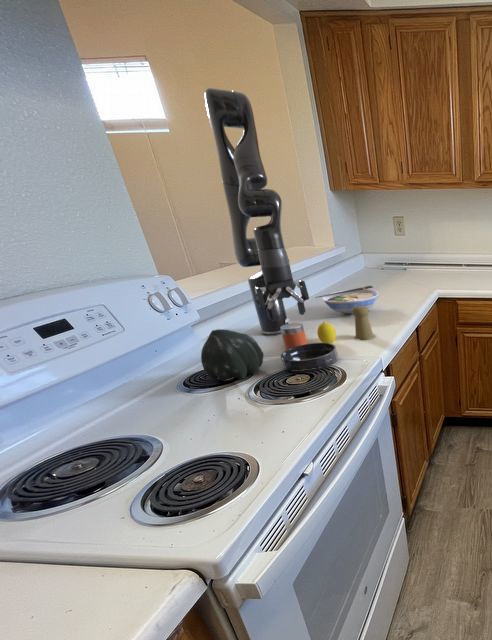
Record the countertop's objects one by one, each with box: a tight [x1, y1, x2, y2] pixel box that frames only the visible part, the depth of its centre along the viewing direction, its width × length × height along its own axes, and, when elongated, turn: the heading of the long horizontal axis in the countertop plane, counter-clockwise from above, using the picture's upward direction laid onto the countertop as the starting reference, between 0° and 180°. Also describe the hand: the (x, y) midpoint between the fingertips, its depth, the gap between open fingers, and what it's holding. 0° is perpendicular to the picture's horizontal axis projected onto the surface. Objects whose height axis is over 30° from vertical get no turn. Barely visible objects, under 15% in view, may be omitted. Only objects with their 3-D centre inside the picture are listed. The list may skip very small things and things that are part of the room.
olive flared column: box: [352, 306, 375, 341], centre depth 143 cm, size 6×6×11 cm
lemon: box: [316, 321, 337, 344], centre depth 137 cm, size 6×6×8 cm
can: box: [280, 322, 308, 351], centre depth 131 cm, size 6×6×9 cm
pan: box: [280, 342, 339, 373], centre depth 123 cm, size 15×15×4 cm
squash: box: [200, 328, 264, 382], centre depth 115 cm, size 14×15×15 cm
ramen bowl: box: [315, 285, 380, 315], centre depth 175 cm, size 25×23×8 cm
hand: (288, 317), depth 128 cm, fingers open, 8 cm apart
